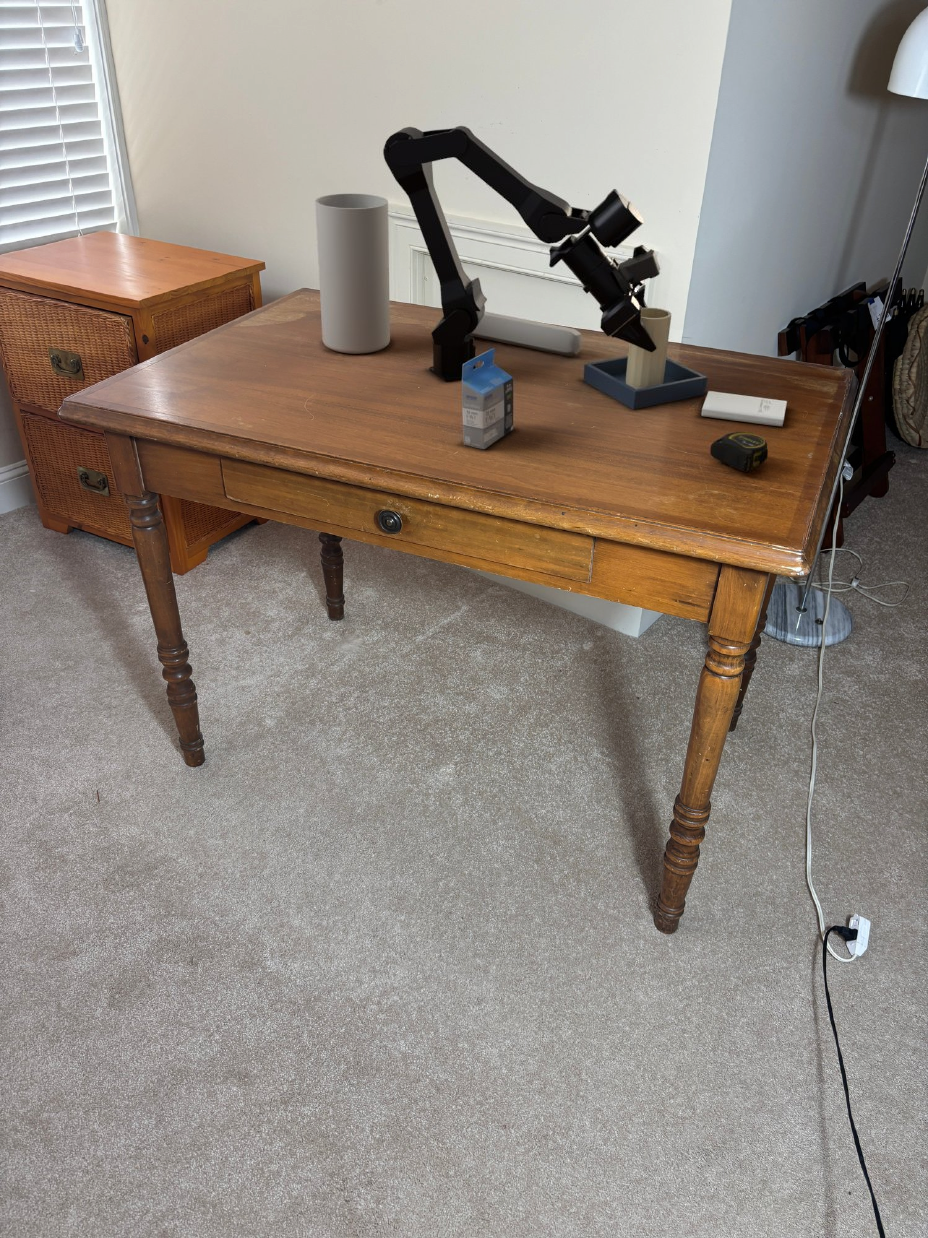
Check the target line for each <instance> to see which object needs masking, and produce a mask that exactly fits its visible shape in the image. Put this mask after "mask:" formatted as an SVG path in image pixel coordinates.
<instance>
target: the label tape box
mask: <svg viewBox="0 0 928 1238" xmlns="http://www.w3.org/2000/svg"><path fill="white" fill-rule="evenodd" d="M495 351H496V347H493V348H490V349H489V350H487V351H485V352H483V353H481V354H479V355H477V356H476V357H475V358H473V359H472V360H470V361H468V362H466V363H464V364H463V369H462V378H461V400H462V401H461V402H462V403H461V405H462V406H461V407H462V434H463V435H462V436H463V438H462V439H463V445H464V446H468V447H472V448H477V449H481V450H485V449H487V448H488V447H490V446H491V445H493V444H494V443H495V442H497V441H499V440H500V439H501V438H502V437H504V436H506V435H507V434H508V433H510V432H511V431H513V430H514V381H515V379H514V377H513V376H512V375H510V374H509V373H507V372H506V371H505V370H503V369H502V368H501V367H499V366H498V365H496V364H495V363H494V360H495ZM478 363H482V365H479V366H478V367H476V365H478ZM474 366H475V369H473V367H474Z"/></svg>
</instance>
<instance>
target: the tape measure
mask: <svg viewBox="0 0 928 1238" xmlns="http://www.w3.org/2000/svg"><path fill="white" fill-rule="evenodd" d="M768 449H769V448H768V443H767V440H766V439H765V438H764V437H762V436H760V435H758V434H755V433H751V432H746V431H736V432H735V431H734V432H729V433H726V434H724V435H723V436H721V437H720V438H718V439H716V440H714V441H713V442H712V443H711V444H710V448H709V453H710V454H709V455H710V456H711V457H712V458H714V459H715V460H717V461H719V462H721V463H723V464H726V465H728V466H730V467H731V468H735V469H737V470H739V471H742V472H744V473H747V472H749V471H750V470H752V469H757V468H759V467H761V466H762V465H763V464H764V462H765V461H766V460H767V459H768V455H769V451H768Z"/></svg>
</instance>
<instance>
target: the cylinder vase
mask: <svg viewBox="0 0 928 1238" xmlns="http://www.w3.org/2000/svg"><path fill="white" fill-rule="evenodd" d="M314 204H315V205H314V207H315V224H316V225H315V226H316V242H317V244H316V246H317V261H318V262H317V263H318V282H319V283H318V284H319V299H320V317H321V335H322V336H321V338H322V343H323V345H324V346H325V347H327V348H328V349H329V350H332V351H333V352H338V353H344V354H354V355H356V354H357V355H358V354H359V355H361V354H369V353H374V352H378V351H381V350H383V349H384V348H385V349H386V347H387V346H389V344H390V342H391V315H390V314H391V309H390V306H391V305H390V304H391V303H390V250H389V249H390V246H389V244H390V243H389V242H390V241H389V239H390V237H389V233H390V231H389V200H388V199H387V198H385V197H382V196H379V195H374V194H367V193H334V194H333V193H332V194H326V195H323V196H319V197H316V199H315V200H314Z"/></svg>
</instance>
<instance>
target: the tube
mask: <svg viewBox="0 0 928 1238" xmlns="http://www.w3.org/2000/svg"><path fill="white" fill-rule="evenodd" d="M468 335H470V336H471V337H473V338H479V339H484V340H489V341H493V342H497V343H498V342H499V343H503V344H508V345H513V346H517V347H522V348H527V349H531V350H537V351H540V352H541V351H542V352H546V353H551V354H555V355H561V356H564V357H572V356H576V355H578V353H579V351H580V350H581V348H582V347H583V338H582V333H581V332H579V330H577V329H575V328H571V327H567V326H562V325H556V324H551V323H546V322H542V321H536V320H531V319H526V318H520V317H515V316H510V315H505V314H501V313H500V314H499V313H494V312H489V311H485V312H484V315H483V317H482V319H481V321H480V322H479V324H478V326H477V327H476V329H475V330H474V331H473V332H472V333H470V334H468Z"/></svg>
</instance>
